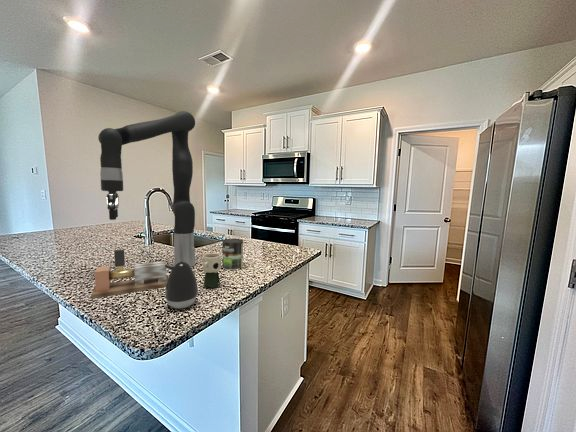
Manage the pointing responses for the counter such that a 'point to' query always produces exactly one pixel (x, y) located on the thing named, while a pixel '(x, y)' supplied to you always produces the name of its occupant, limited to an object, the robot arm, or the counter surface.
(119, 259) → the gold and grey t-piece
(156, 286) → the sleeve stand
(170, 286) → the dark grey egg-shaped piece
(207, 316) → the counter surface
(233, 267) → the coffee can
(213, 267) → the character mug
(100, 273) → the socket block
